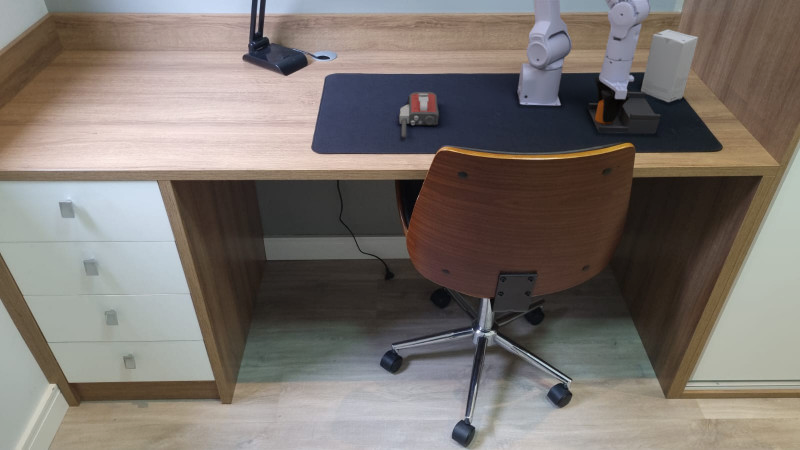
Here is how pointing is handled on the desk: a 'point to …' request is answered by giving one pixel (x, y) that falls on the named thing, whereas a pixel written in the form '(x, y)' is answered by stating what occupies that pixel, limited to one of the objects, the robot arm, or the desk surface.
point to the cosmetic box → (668, 65)
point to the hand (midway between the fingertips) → (605, 115)
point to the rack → (630, 116)
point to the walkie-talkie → (419, 110)
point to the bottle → (600, 113)
